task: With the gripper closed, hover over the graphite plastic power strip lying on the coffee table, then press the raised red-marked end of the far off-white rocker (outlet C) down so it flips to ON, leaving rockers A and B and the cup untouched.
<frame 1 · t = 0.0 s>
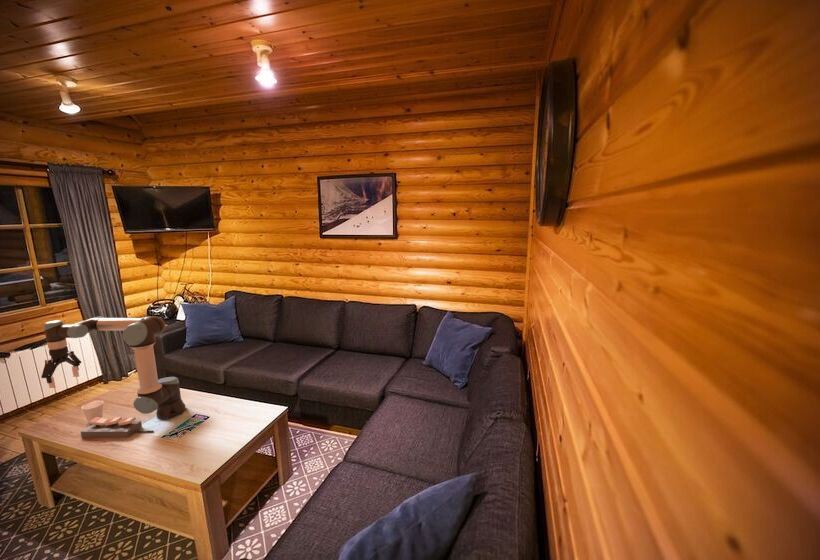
hand: (64, 382, 193), 28 cm above the table, fingers open, 13 cm apart
rocker c: (99, 421, 192), point 6 cm above the table, hinge at -12.0°
power strip: (112, 432, 192), on the table
cup: (95, 421, 203), on the table
rocker b: (113, 421, 192), point 6 cm above the table, hinge at 12.0°
rocker a: (127, 421, 192), point 6 cm above the table, hinge at 12.0°
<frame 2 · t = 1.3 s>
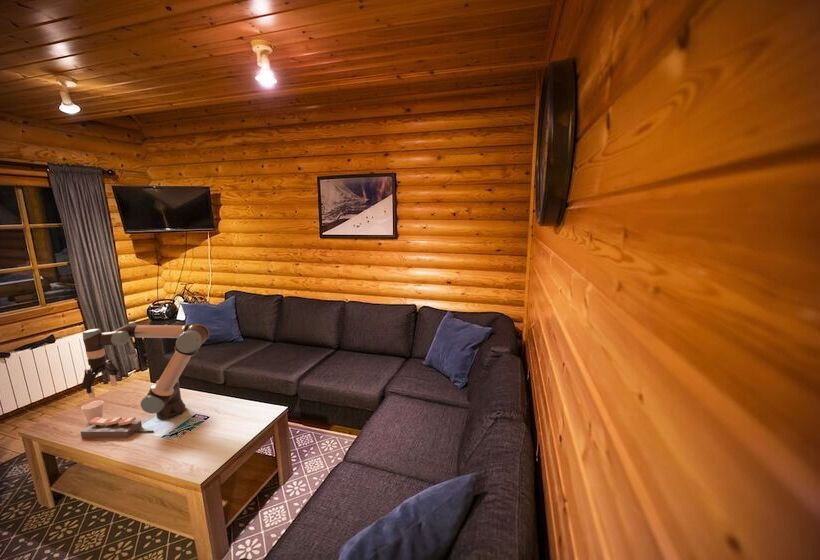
hand: (103, 391, 189), 25 cm above the table, fingers open, 13 cm apart
nothing on the table moved.
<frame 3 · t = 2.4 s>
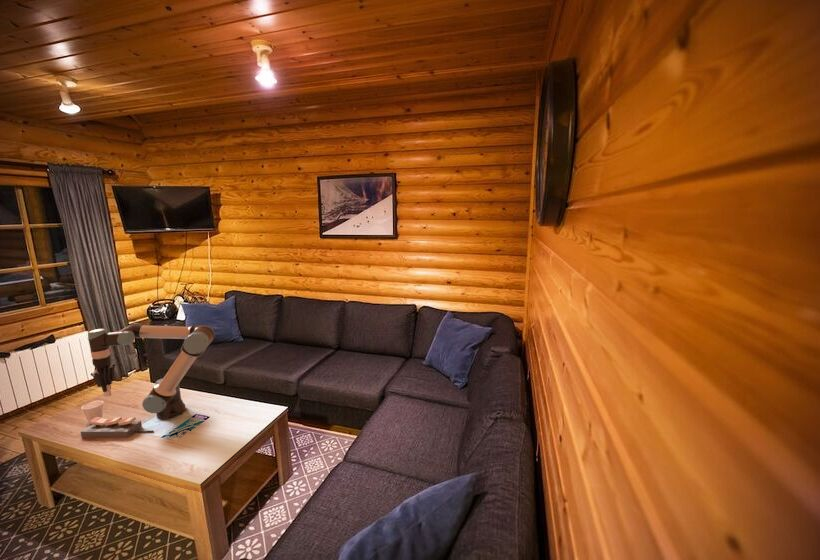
hand: (107, 395, 189), 22 cm above the table, fingers closed
nothing on the table moved.
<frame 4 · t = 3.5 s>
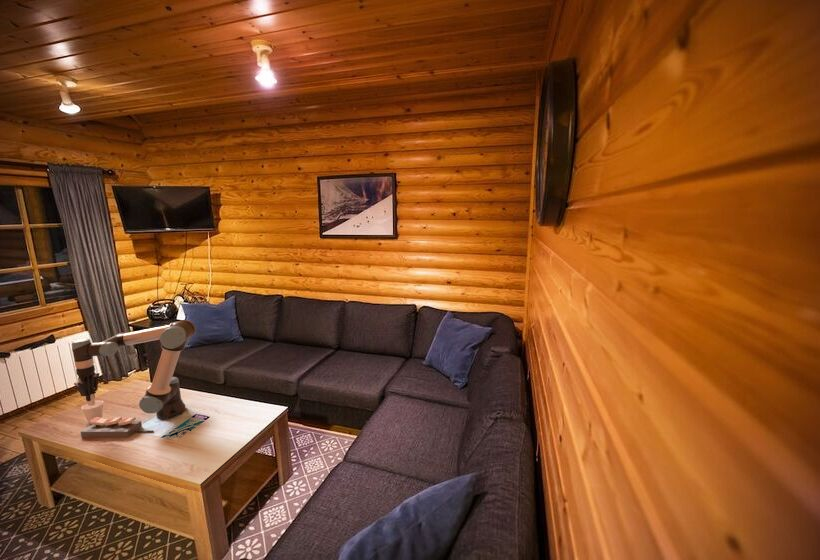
hand: (91, 404, 190), 16 cm above the table, fingers closed
nothing on the table moved.
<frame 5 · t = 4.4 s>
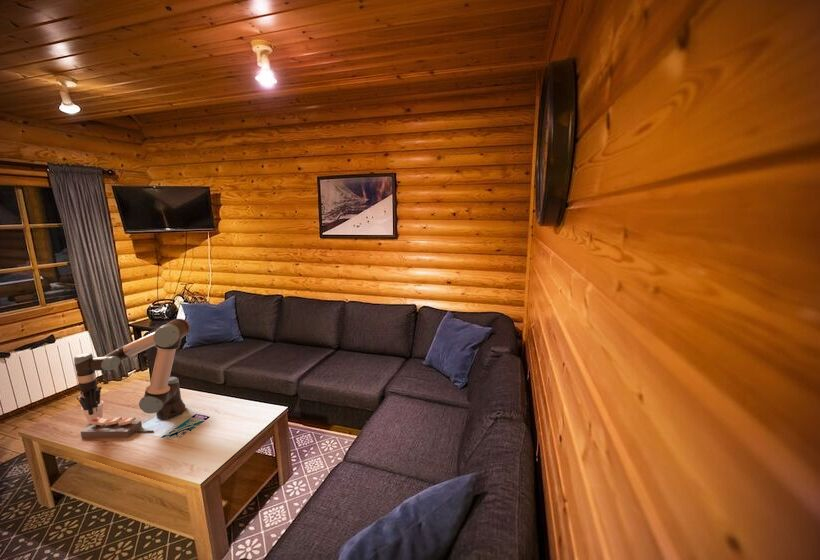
hand: (94, 418, 192), 8 cm above the table, fingers closed
rocker c: (99, 421, 192), point 6 cm above the table, hinge at -12.0°, touching gripper
everything else where it was.
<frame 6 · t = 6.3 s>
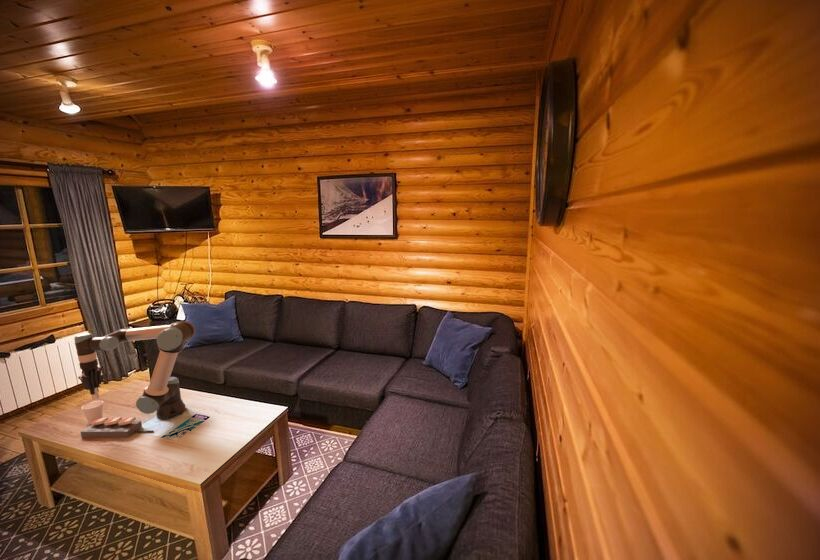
hand: (95, 398, 193), 19 cm above the table, fingers closed
rocker c: (99, 421, 192), point 6 cm above the table, hinge at 11.9°
everything else where it was.
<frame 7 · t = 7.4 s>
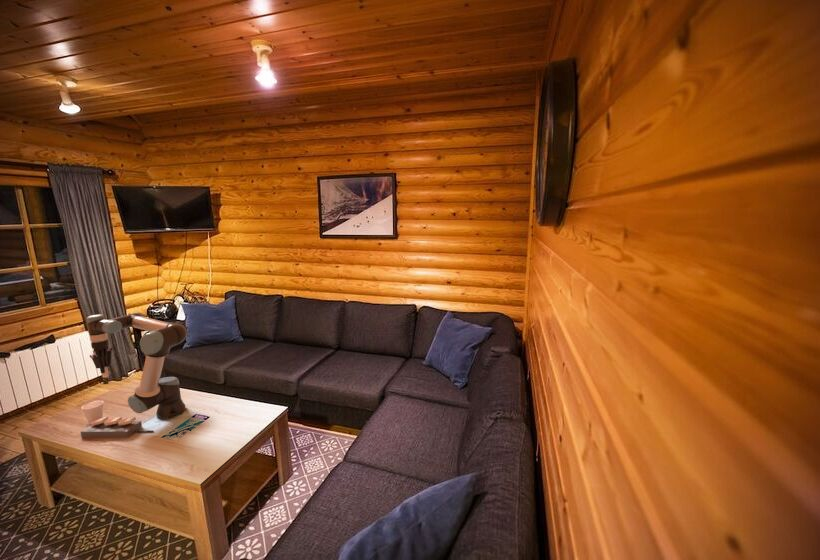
hand: (105, 377, 203), 26 cm above the table, fingers closed
rocker c: (99, 421, 192), point 6 cm above the table, hinge at 16.3°
everything else where it was.
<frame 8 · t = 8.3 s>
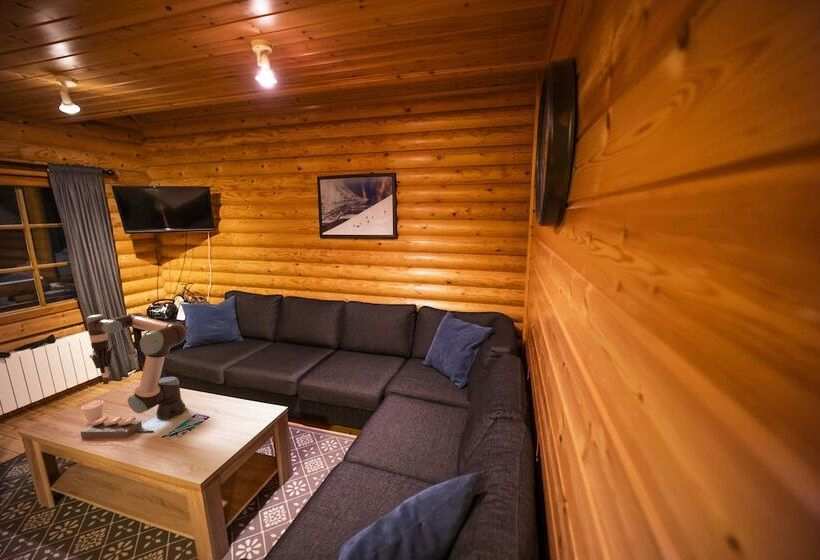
hand: (105, 377, 203), 26 cm above the table, fingers closed
rocker c: (99, 421, 192), point 6 cm above the table, hinge at 17.8°, touching power strip
everything else where it was.
at the end: rocker c at +18° (first picture: -12°); rocker a at +12° (first picture: +12°); rocker b at +12° (first picture: +12°) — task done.
